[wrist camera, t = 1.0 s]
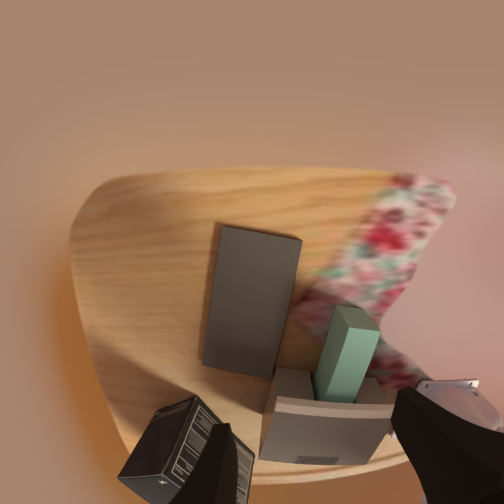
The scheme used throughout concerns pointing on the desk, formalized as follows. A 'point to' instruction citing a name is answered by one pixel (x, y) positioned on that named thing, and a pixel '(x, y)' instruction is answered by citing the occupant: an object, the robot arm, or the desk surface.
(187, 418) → the small box
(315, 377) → the green block
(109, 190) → the desk surface
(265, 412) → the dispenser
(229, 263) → the mat
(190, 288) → the desk surface
